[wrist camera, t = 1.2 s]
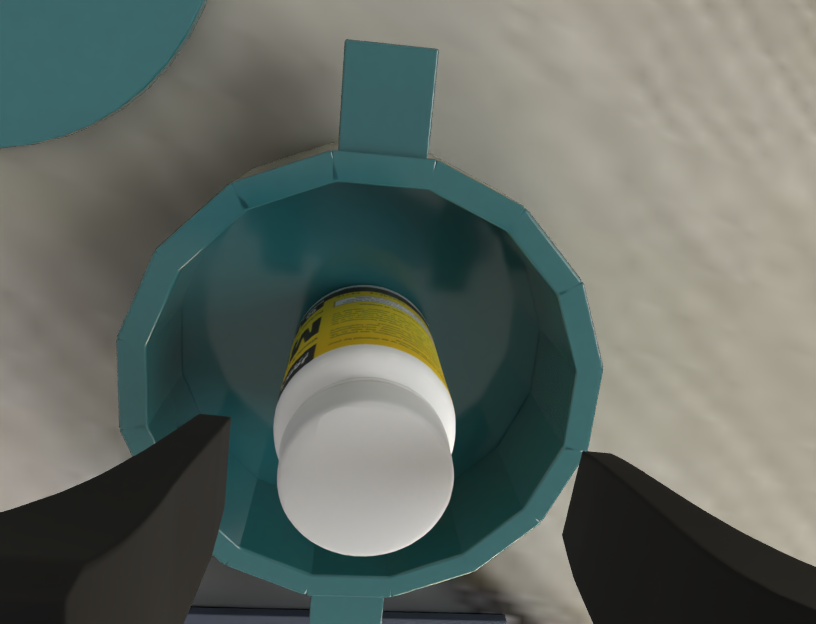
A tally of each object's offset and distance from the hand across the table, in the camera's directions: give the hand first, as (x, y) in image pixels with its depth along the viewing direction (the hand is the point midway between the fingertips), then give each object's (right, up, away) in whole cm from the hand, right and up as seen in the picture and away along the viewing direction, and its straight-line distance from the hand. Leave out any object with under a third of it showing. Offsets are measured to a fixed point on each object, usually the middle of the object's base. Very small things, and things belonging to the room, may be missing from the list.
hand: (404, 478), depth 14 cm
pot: (-1, +2, +10) cm, 10 cm away
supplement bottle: (-1, +2, +10) cm, 10 cm away
